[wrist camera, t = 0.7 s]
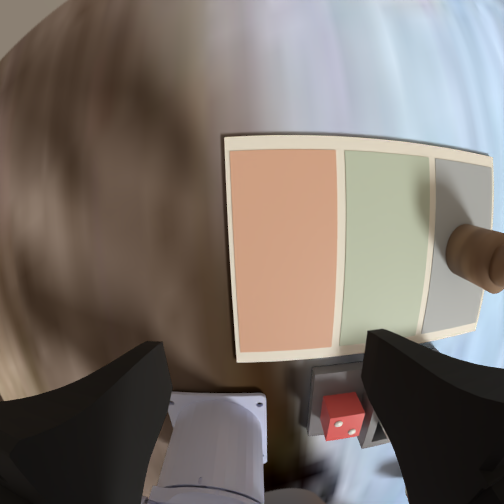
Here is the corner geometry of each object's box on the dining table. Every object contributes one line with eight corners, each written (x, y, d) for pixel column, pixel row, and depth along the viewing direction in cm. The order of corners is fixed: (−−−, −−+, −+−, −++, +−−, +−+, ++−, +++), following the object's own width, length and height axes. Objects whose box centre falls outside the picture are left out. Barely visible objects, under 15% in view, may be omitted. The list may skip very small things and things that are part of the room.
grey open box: (416, 407, 22) (431, 431, 18) (306, 428, 22) (312, 458, 18) (435, 347, 20) (457, 369, 17) (312, 367, 20) (322, 398, 17)
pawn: (476, 273, 18) (527, 298, 12) (442, 277, 18) (494, 307, 12) (482, 224, 17) (537, 238, 11) (447, 223, 18) (505, 239, 11)
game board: (473, 329, 20) (475, 330, 19) (237, 360, 20) (236, 362, 20) (490, 157, 17) (493, 157, 16) (224, 138, 17) (224, 137, 16)
